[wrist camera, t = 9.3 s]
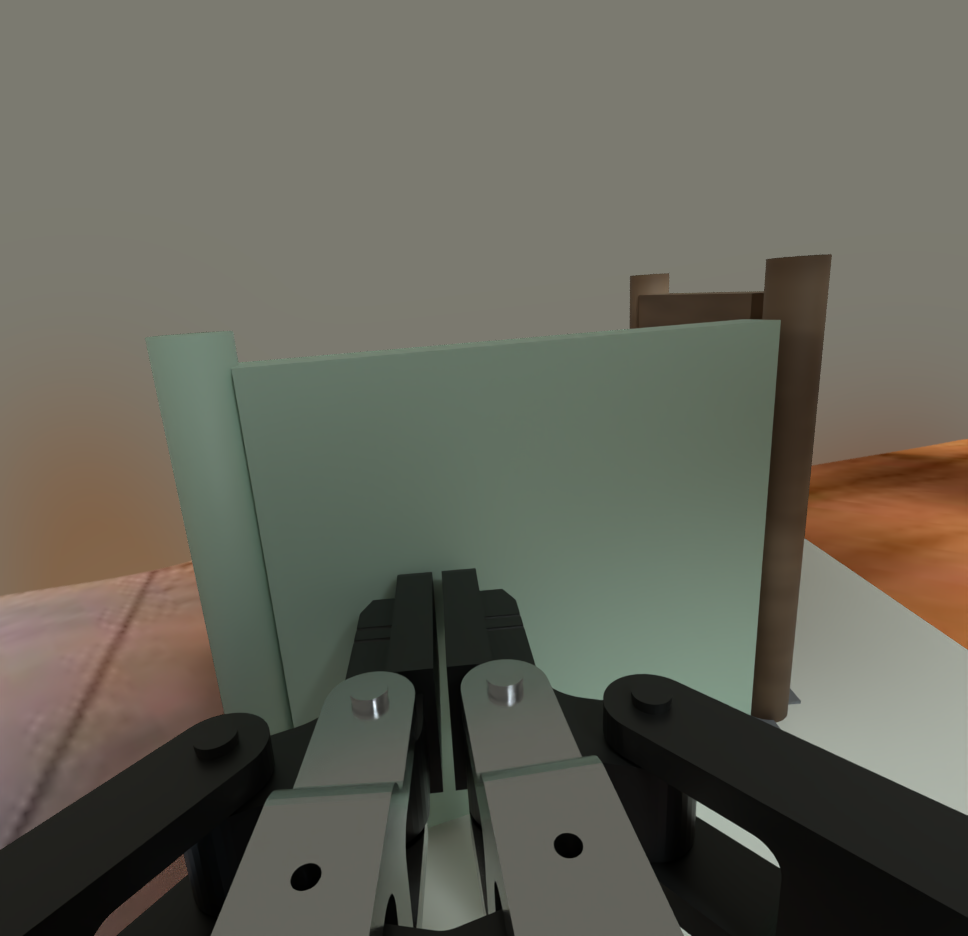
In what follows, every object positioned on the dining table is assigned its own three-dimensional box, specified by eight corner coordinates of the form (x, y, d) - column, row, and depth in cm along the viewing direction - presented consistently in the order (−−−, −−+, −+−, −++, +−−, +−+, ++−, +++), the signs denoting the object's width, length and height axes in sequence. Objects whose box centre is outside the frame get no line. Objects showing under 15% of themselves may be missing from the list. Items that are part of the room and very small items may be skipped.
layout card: (793, 538, 30) (794, 529, 30) (1708, 1184, 8) (1727, 1162, 8) (338, 572, 30) (337, 563, 29) (1, 1381, 8) (-10, 1357, 7)
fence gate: (718, 690, 18) (741, 294, 15) (753, 719, 17) (786, 293, 14) (256, 838, 14) (152, 336, 11) (256, 890, 13) (137, 339, 10)
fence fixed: (655, 544, 30) (661, 274, 26) (800, 720, 17) (848, 253, 14) (624, 546, 30) (625, 276, 26) (746, 724, 17) (780, 257, 14)
